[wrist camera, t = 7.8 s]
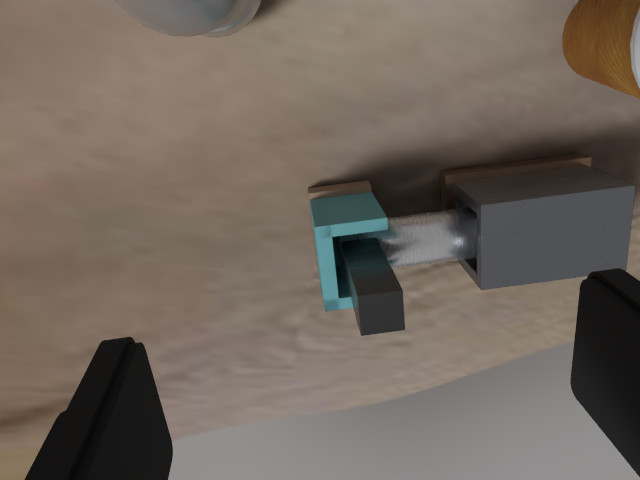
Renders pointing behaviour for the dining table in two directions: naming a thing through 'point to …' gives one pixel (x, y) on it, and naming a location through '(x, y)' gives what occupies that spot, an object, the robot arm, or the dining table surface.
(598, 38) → the disposable coffee cup
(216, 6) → the plastic bottle
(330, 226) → the far socket
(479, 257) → the tube sleeve
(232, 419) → the dining table surface
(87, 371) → the robot arm
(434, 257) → the tube
